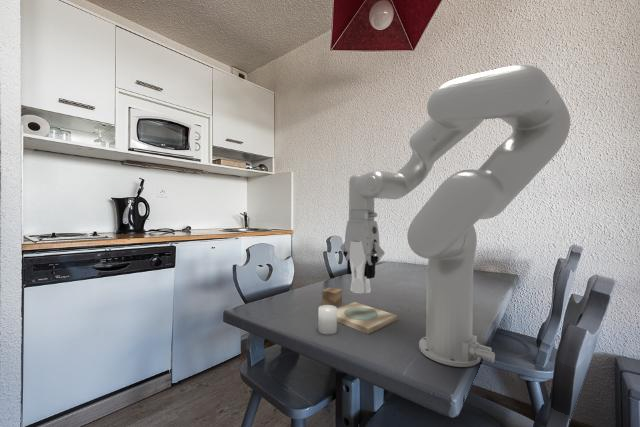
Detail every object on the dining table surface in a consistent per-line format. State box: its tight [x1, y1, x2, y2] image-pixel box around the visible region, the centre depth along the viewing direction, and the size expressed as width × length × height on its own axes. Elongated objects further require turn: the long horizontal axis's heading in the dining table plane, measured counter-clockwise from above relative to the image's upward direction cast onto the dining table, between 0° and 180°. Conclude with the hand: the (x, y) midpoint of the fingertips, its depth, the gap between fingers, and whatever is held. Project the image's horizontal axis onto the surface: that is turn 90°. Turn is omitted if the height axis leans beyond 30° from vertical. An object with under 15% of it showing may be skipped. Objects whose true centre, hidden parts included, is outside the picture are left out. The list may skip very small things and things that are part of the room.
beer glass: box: [349, 241, 372, 295], centre depth 82 cm, size 7×7×15 cm
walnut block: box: [321, 286, 343, 308], centre depth 95 cm, size 5×5×5 cm
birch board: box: [337, 301, 398, 335], centre depth 82 cm, size 16×14×2 cm
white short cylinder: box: [317, 304, 338, 335], centre depth 73 cm, size 5×5×6 cm
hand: (360, 275), depth 82 cm, fingers closed on beer glass, 6 cm apart
